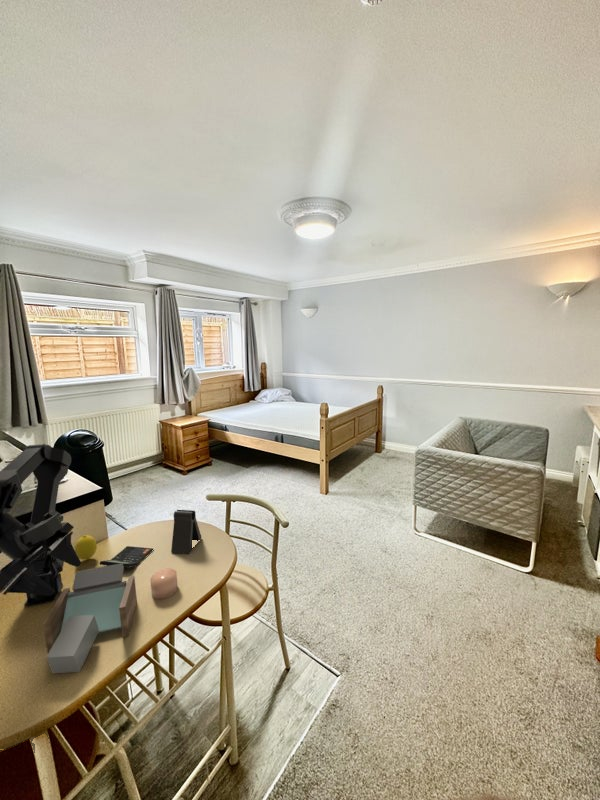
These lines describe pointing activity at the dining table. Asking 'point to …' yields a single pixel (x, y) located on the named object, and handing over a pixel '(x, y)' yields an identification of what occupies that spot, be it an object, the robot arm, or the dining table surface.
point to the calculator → (129, 556)
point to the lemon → (85, 547)
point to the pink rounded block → (164, 583)
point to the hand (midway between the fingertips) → (67, 578)
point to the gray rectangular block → (73, 644)
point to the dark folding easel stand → (184, 531)
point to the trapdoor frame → (57, 613)
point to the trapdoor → (97, 596)
